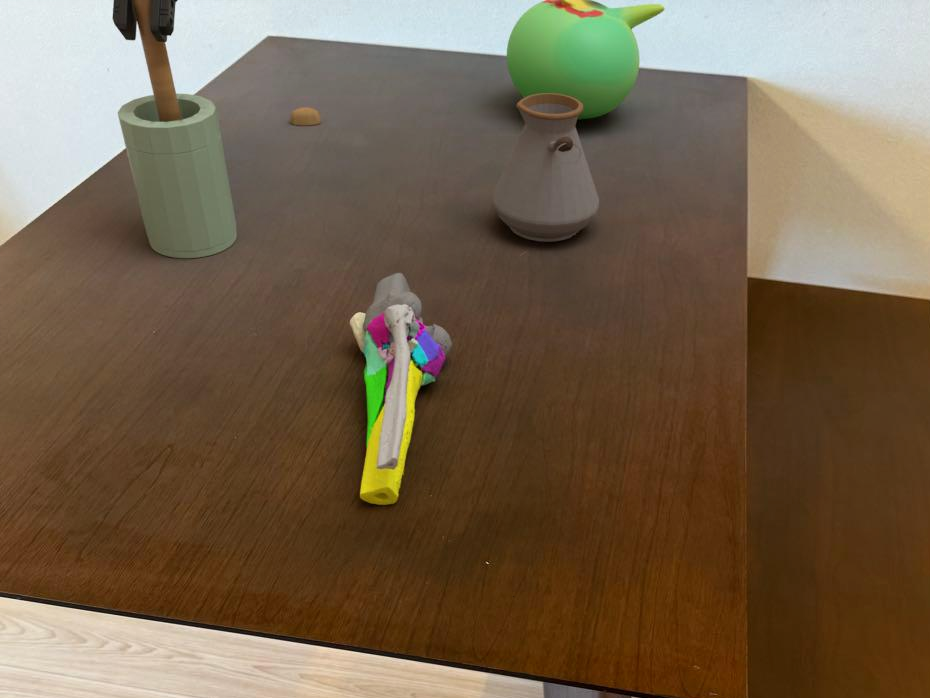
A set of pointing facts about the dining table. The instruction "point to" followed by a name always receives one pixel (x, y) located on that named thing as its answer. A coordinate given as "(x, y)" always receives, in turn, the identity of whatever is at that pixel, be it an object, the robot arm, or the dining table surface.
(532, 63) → the toy bird
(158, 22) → the robot arm
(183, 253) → the pale green cup
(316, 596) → the dining table surface
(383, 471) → the knee model
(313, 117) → the potato
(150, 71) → the wooden pestle
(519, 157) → the coffee pot
